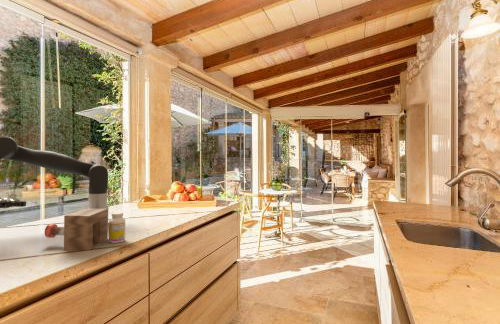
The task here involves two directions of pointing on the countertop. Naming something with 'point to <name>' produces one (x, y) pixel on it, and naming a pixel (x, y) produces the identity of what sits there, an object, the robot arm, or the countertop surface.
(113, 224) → the supplement bottle
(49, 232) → the red plug
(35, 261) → the countertop surface
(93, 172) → the robot arm
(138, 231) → the countertop surface
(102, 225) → the walnut block
